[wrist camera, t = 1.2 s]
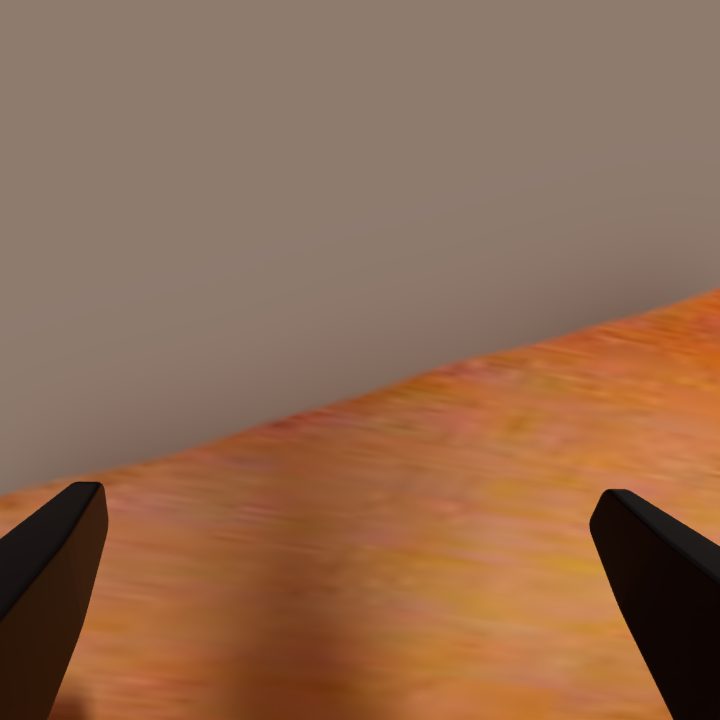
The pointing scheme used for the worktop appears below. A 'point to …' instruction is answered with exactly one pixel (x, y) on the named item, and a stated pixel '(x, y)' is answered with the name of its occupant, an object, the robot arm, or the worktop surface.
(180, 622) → the worktop surface
